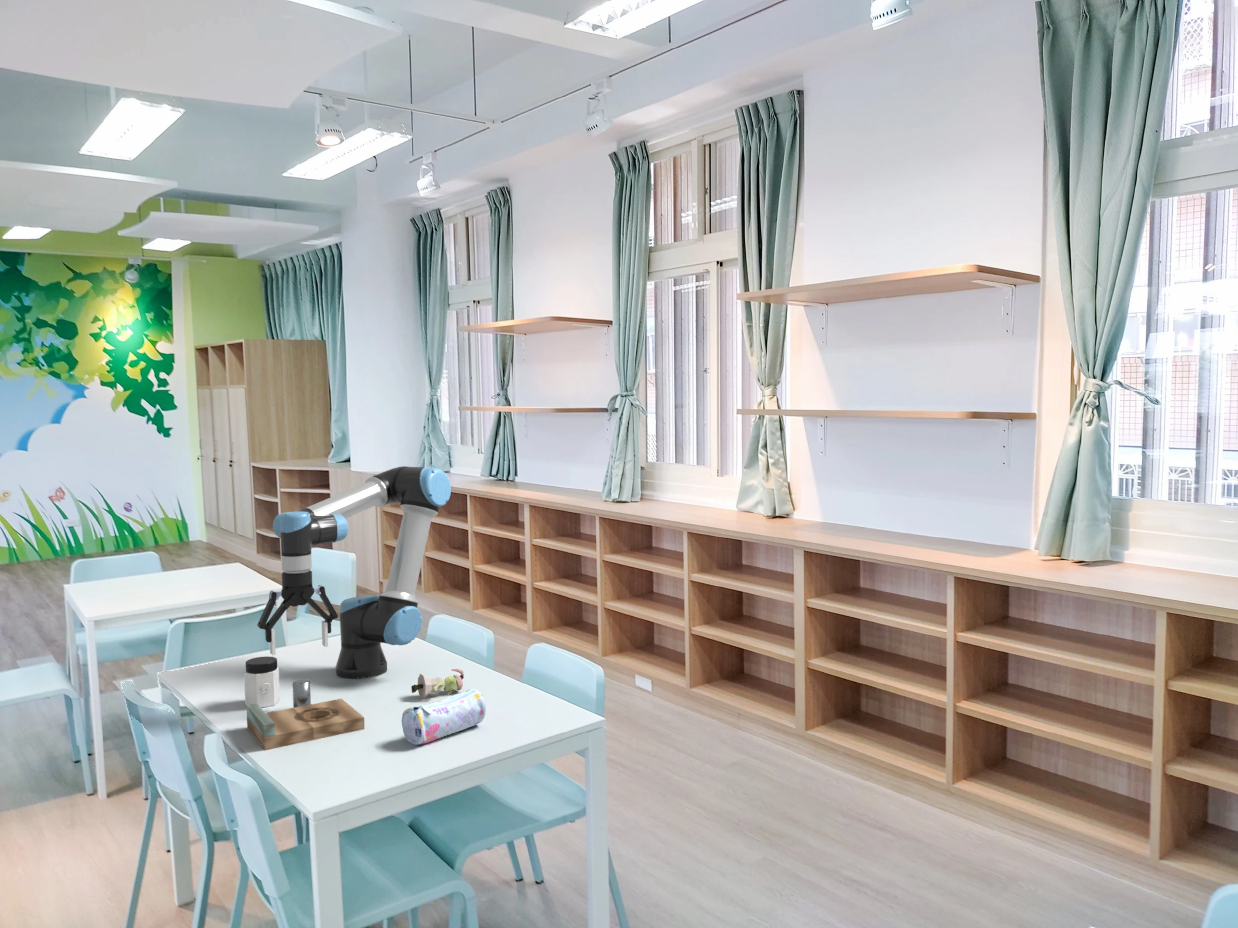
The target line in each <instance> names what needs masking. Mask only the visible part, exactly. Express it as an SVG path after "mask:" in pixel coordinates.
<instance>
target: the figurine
mask: <svg viewBox="0 0 1238 928" xmlns="http://www.w3.org/2000/svg"><path fill="white" fill-rule="evenodd" d="M451 671H453V672H457V673H459V674H460V675H458V674H453V675H448V676H446V677H445V678H443V677H434V678H429V677H428V676H426V675H425V674H423V673H419V675H418V677H417V684H413V685H411V687H410V688H411V693H412V694H414V693H416V692H418V697H420V698H421V700H425V699H426V698H427V697H428V696H429V695H430V694H433V693H436V694H440V693H441V692H442V691H443V692H444V693H445V692H446V693H447V695H448V694H449V695H451V694H452V692H453V693H455V692H457V691H461V690H462V688H463V685H464V683H463V680H464V678H465V677H464V676H465V673H464V671H463V670H462V669H459V668H452V669H451ZM450 693H451V694H450Z"/></svg>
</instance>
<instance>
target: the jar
mask: <svg viewBox="0 0 1238 928" xmlns="http://www.w3.org/2000/svg"><path fill="white" fill-rule="evenodd" d="M279 670H280V668H279V667H278V658H277V657H275V656H269V655H268V656H258V657H252V658H250V659H247V660H246V661H245V671H244V675H243V676H244V700H245V701H244V704H245V707H247V705H249V704H255V703H257V704H258V705H259V707H260V708H261V709H263V708H269V707H273V706H276V704H278V703H279V701H281V697H280V696H281V694H280V693H281V691H280V671H279Z"/></svg>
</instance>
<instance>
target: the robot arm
mask: <svg viewBox="0 0 1238 928" xmlns="http://www.w3.org/2000/svg"><path fill="white" fill-rule="evenodd" d="M450 481H451V480H450V479H449V476H448V475H447V474H446V473H445V472H444V471H443V470H442V469H440V468H437V467H432V466H431V467H430V466H425V467H424V466H403V465H402V466H397V467H393V468H390V469H388V470H386V471H382V472H380V473H377V474H374V475H373V476H371V477H368V478H366V479H365V482H364V483H361V484H360V485H357V486H355V487H353V488H350V489H348V490H345V491H343V492H341V493H338V494H336V495H333V496H331V497H329V498H326V499H324V500H321V501H319V502H317V503H314V504H312V505H309V506H307V507H305V508H301V509H299V510H296V511H287V512H281V513H278V514H277V515H276V517H275V518H274V519H273V523H272V531H273V533H274V535H276V536H275V537H277V538H279V539H280V551H281V552H280V554H281V555H280V556H281V570H282V573H281V587H282V588H281V590H280V591H274V590H270V591H269V596H268V601H267V602H266V605H265V607H264V610H263V612H262V614H261V615H260V619H259V620H258V622H257V628H258V629H260V630H264V631H265V632H264V635H265V642H267V643H269V653H270V655H272V656H276V655H277V651H276V630H275V629H274V626H275V625H276V624H277V622H278V621H279V619H281V618H282V616H283V614H285V612H286V611H287V610H288V609H289V608H290V607H299V606H306V605H307V604H308V605H309V606H310V607H311V608H312V609H313V610H314V611H316V613H317V614H319V616H320V617H321V618H323V620H322V621H321V642H322V646H323V647H324V648H327V647H329V635H328V634H331V632H332V622H333V620H336V619H338V618H339V626H340V628H339V629H340V630H339V631H340V645H341V646H340V650H339V654H338V659H337V661H336V665H335V675H336V676H337V677H339V678H342V679H343V678H344V679H350V680H351V679H352V680H353V679H355V680H357V679H367V678H373V677H377V676H380V675H382V674H384V673H386V672H387V671H388V662H387V658H386V656H385V652H384V650H383V648H382V644H387V645H389V646H406V645H408V644H411V642H412V641H413V640H416V638H417V636H419V633H420V632H421V629H422V626H423V617H422V613H421V610H419V609H418V605H419V601H418V600H417V598H416V597H415V595H416V590H417V585H418V581H419V577H420V573H421V570H422V569H421V567H422V563H423V560H424V556H425V555H424V554H425V549H426V546H427V543H428V537H429V533H430V528H431V523H432V519H433V518H435V517H436V516H438V515H439V510H440V507H443V506H445V505H446V504H447V503H448V501H449V500H450V497H451V495H452V494H451V492H452V487H451V482H450ZM390 504H400V505H399V507H400V509H401V510H402V513H403V514H402V519H401V523H400V528H399V532H398V535H397V541H396V545H395V550H394V552H393V558H392V561H391V562H392V563H391V566H390V570H389V574H388V578H387V579H388V580H387V583H386V587H385V590H384V591H383V592H382V593H380V594H379V595H378V594H367V595H360V596H355V597H348V598H346V599H343V600H342V601H341V603H340V605H339V614H338V613H337V612H336V609H335V608H334V606H333V603H331V600H330V599H329V597H328V596H327V594H326V588H325V586H323V585H321V584H319V585H318V586H315V587H314V586H313V571H312V570H311V569H312V567H313V564H312V563H313V561H312V546H317V545H323V544H331V543H337V542H340V541H344V539H346V537H347V536H348V534H349V523H348V521H347V519H348V518H350V517H353V516H355V515H357V514H360V513H361V512H364V511H366V510H368V509H371V508H373V507H377V508H380V507H384V506H385V505H390ZM314 594H316V595H318V596H319V598H320V600H321V601H322V603H323V604H324V606H325V608H326V610H327V611H328V613H329V614H327V613H326V611H324V609H322V608H321V606H319V604H317V603H316V602H315V600H313V598H312V597H313V595H314ZM279 598H282V599H283V600H282V602H281V603H280V605H279V607H278V608H277V609H276V610H275V612H274V613H273V614H272V615H271V613H272V612H273V609H274V607H275V606H276V605H275V604H276V602H277V601H278V600H279Z"/></svg>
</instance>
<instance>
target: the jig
mask: <svg viewBox="0 0 1238 928" xmlns="http://www.w3.org/2000/svg"><path fill="white" fill-rule="evenodd" d="M246 728H247V731H249V732H250V733H251V734H252V736H253V738H254V739H256V741H257V742H258V743H259V745H260V746H261V747H262V748H263V750H264V751H267V750H272V749H276V748H282V747H286V746H290V745H295V744H302V743H304V742H309V741H314V740H318V739H323V738H328V737H333V736H336V735H337V736H338V735H341V734H346V733H352V732H356V731H357V732H358V731H361V730H365V716H363V715H362V714H361V713H360V712H358V711H357V710H356V709H355V708H354V707H353V706H351V705H350V704H349V703H347V702H346V701H345V700H344V699H343V698H337V699H332V700H327V701H322V702H316V703H311V704H310V705H305V706H300V707H295V708H293V707H290V708H285V709H279V710H274V711H270V712H265V710H263V708H260V707H259V705H258V704H257V703H255V704H249V705H247V706H246Z"/></svg>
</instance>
